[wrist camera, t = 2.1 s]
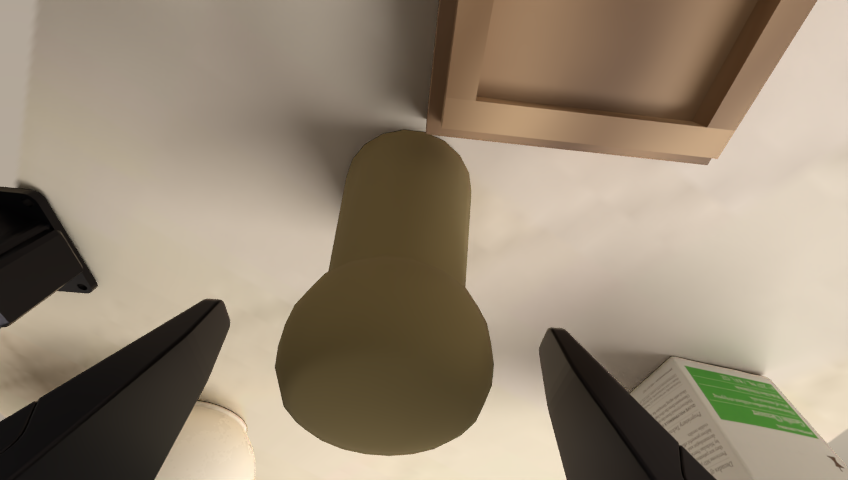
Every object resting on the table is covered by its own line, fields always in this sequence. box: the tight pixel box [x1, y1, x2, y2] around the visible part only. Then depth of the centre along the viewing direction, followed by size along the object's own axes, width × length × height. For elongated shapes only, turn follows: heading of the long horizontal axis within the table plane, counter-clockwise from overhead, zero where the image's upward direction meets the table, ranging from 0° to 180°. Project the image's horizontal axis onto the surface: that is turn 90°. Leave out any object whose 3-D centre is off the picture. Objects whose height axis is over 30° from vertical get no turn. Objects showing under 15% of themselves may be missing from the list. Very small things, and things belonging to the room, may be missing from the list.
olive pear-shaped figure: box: [275, 130, 494, 456], centre depth 11 cm, size 6×6×11 cm
